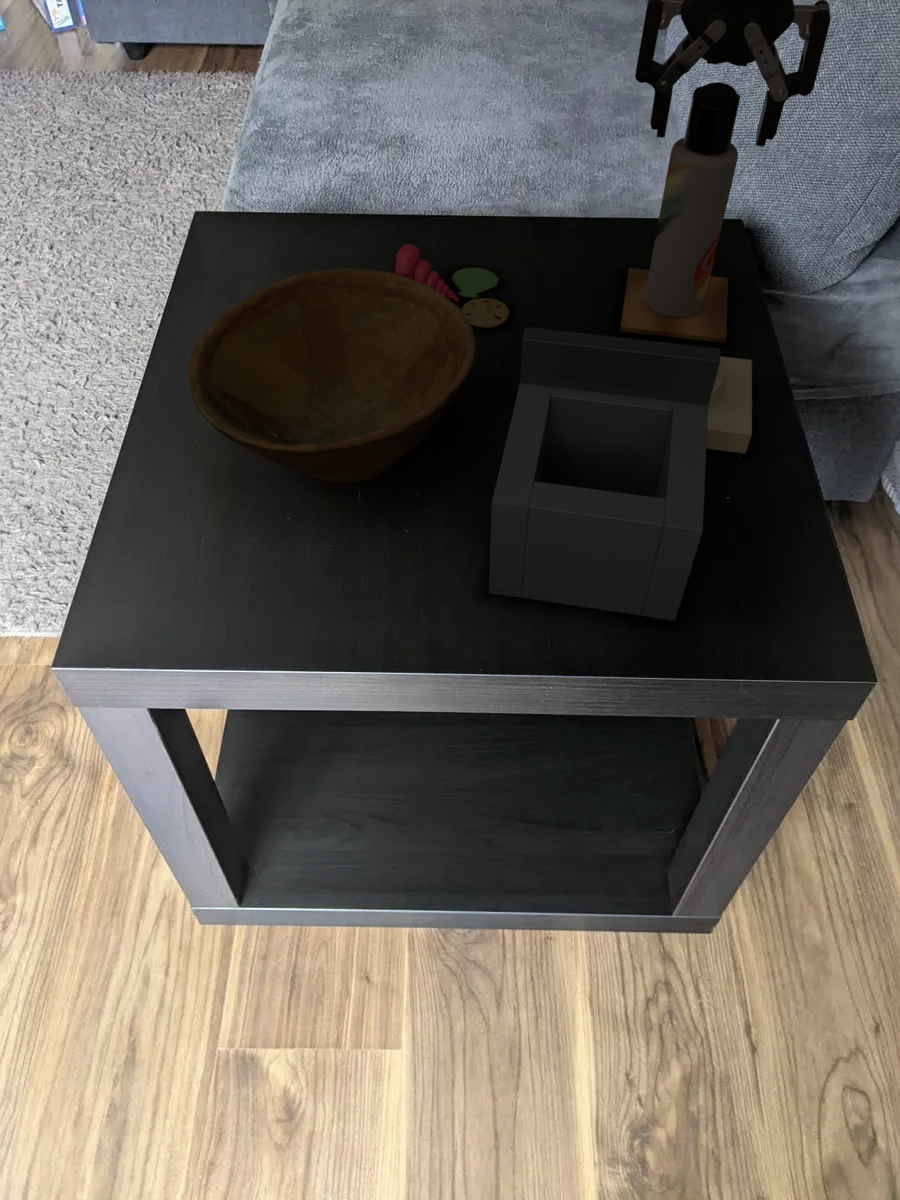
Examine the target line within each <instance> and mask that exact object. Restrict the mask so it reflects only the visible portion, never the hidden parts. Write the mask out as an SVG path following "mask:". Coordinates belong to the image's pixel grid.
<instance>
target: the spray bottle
mask: <svg viewBox="0 0 900 1200" xmlns="http://www.w3.org/2000/svg"><path fill="white" fill-rule="evenodd" d="M740 102H741V95H740V94H739V93H737V91H736V89H735V88H734V87H733V86H732V85H730V84H729V83H725V82H710V83H706V84H705V85H701V86H698V87H696V88H695V89H694V90H693V92H692V97H691V102H690V107H689V112H688V116H687V122H686V127H685V131H684V137H682V138H680V139H678V140H677V141H675V143H674V144H673V145H672V147H671V150H670V155H669V160H668V166H667V171H666V177H665V183H664V188H663V192H662V193H663V194H662V200H661V205H660V211H659V216H658V221H657V228H656V233H655V238H654V245H653V249H652V254H651V255H652V256H651V261H650V267H649V270H650V272H649V277H648V283H647V290H646V302H647V304H648V306H649V307H650V308H651V309H652V310H653V311H654V312H656V313H658V314H660V315H663V316H666V317H672V318H683V317H688V316H691V315H693V314H695V313H697V312H698V311H699V310H700V309H701V307H702V305H703V302H704V298H705V295H706V291H707V287H708V283H709V278H710V276H711V274H712V269H713V265H714V261H715V256H716V253H717V249H718V245H719V240H720V236H721V231H722V228H723V224H724V219H725V215H726V211H727V206H728V203H729V199H730V198H729V197H730V194H731V189H732V186H733V182H734V177H735V172H736V168H737V165H738V158H739V152H738V149H737V147H736V146H735V145H734V144H733V143H732V138H733V134H734V129H735V124H736V120H737V115H738V110H739V106H740Z"/></svg>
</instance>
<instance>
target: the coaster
mask: <svg viewBox="0 0 900 1200" xmlns="http://www.w3.org/2000/svg"><path fill="white" fill-rule="evenodd" d="M649 272H650V269H645V268H644V269H643V268H635V267H628V271H627V279H626V285H625V293H624V300H623V307H622V314H621V319H620V320H621V321H620V327H619V332H622V333H631V334H638V335H639V334H640V335H648V336H649V335H650V336H659V337H665V338H676V339H685V340H695V341H704V342H711V343H722V344H725V343H726V341H727V335H728V334H727V333H728V330H727V329H728V299H729V298H728V295H729V277H723V276H713V275H710V278H709V283H708V287H707V291H706V295H705V298H704V302H703V305H702V307H701V309H700V310H699V311H698V312H697V313H695V314H693V315H691V316H688V317H683V318H672V317H666V316H663V315H660V314H658V313H656V312H654V311H653V310H652V309H651V308H650V307H649V306H648V304H647V302H646V290H647V283H648V277H649Z"/></svg>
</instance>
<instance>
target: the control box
mask: <svg viewBox="0 0 900 1200" xmlns="http://www.w3.org/2000/svg"><path fill="white" fill-rule="evenodd" d="M752 434H753V360H752V359H746V358H739V357H738V358H736V357H728V356H721V355H720V364H719V368H718V372H717V376H716V379H715V383H714V387H713V390H712V394H711V398H710V401H709V404H708V425H707V448H706V450H713V451H722V452H729V453H739V454H746V453H747V450H748V447H749V445H750V442H751V438H752Z"/></svg>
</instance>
